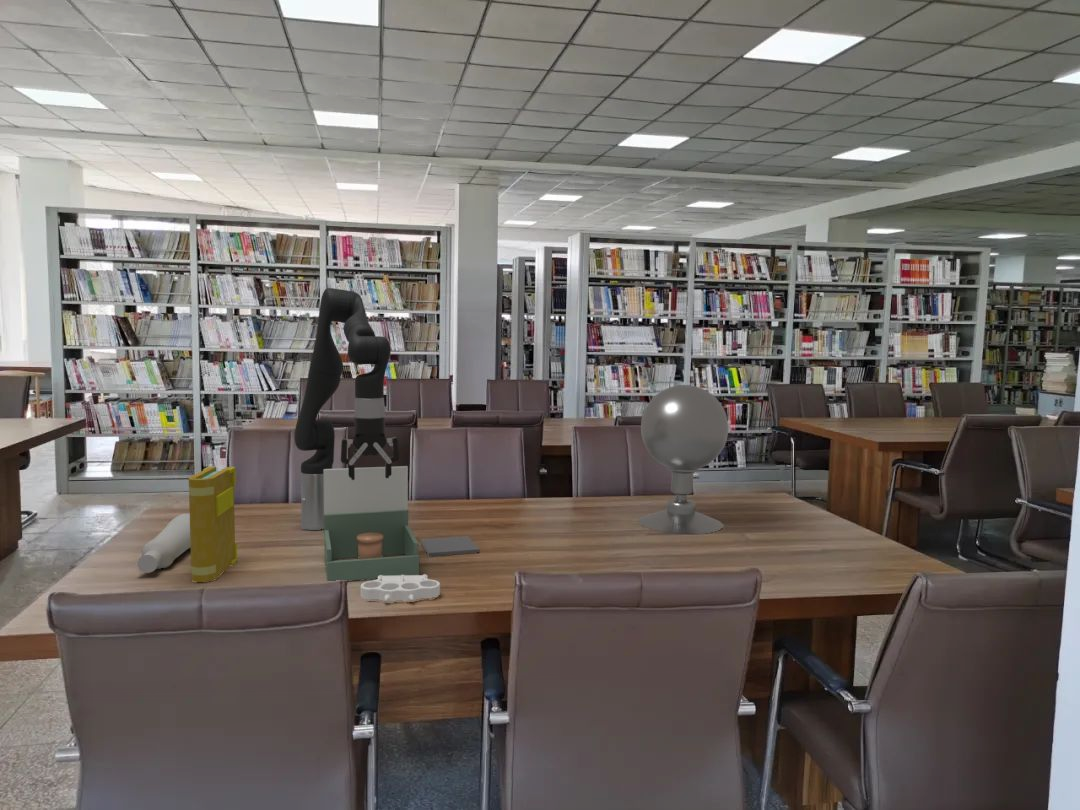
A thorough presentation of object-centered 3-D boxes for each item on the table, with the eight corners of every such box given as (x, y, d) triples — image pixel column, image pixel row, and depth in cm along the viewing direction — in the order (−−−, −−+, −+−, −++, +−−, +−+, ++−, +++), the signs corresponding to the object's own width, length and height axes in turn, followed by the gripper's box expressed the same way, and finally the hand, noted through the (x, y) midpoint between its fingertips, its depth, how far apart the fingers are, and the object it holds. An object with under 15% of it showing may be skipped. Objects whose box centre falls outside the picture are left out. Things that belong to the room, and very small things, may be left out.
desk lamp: (628, 527, 236) (632, 385, 232) (649, 509, 262) (653, 380, 257) (716, 538, 226) (723, 389, 222) (729, 518, 252) (735, 384, 247)
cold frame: (327, 583, 180) (326, 485, 178) (324, 557, 200) (323, 469, 197) (418, 575, 187) (419, 480, 185) (407, 551, 207) (407, 466, 204)
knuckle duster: (440, 584, 182) (439, 606, 168) (365, 586, 180) (357, 608, 165) (440, 571, 182) (439, 592, 167) (365, 572, 180) (357, 593, 165)
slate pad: (428, 556, 203) (428, 553, 203) (420, 542, 216) (420, 539, 216) (479, 552, 207) (479, 549, 207) (468, 539, 220) (468, 535, 220)
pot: (358, 572, 189) (357, 540, 188) (356, 564, 195) (355, 533, 194) (384, 570, 191) (384, 538, 190) (381, 562, 197) (381, 531, 196)
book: (210, 561, 195) (208, 466, 193) (237, 561, 196) (235, 466, 193) (185, 583, 178) (182, 479, 176) (214, 583, 179) (212, 479, 176)
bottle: (165, 532, 210) (119, 569, 180) (183, 505, 210) (140, 538, 180) (194, 549, 212) (154, 588, 182) (212, 522, 211) (174, 558, 182)
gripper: (396, 413, 195) (396, 474, 196) (339, 414, 191) (340, 477, 192) (399, 416, 188) (400, 480, 189) (341, 417, 183) (342, 482, 185)
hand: (370, 478), depth 191 cm, fingers open, 8 cm apart
